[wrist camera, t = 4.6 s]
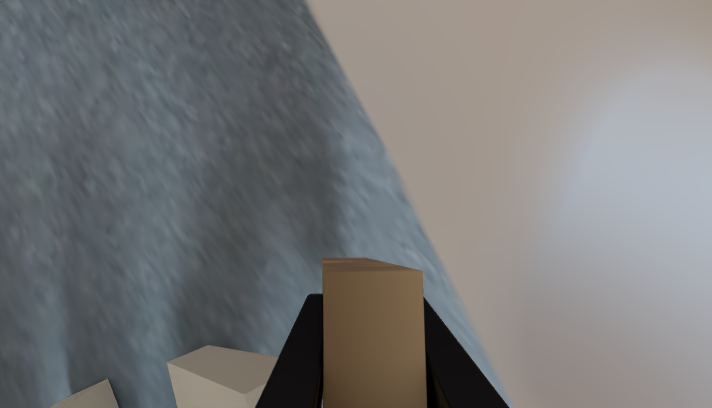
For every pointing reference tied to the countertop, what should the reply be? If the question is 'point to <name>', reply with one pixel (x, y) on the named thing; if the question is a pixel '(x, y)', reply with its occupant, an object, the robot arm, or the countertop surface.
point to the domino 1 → (91, 398)
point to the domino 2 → (219, 377)
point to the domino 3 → (373, 335)
